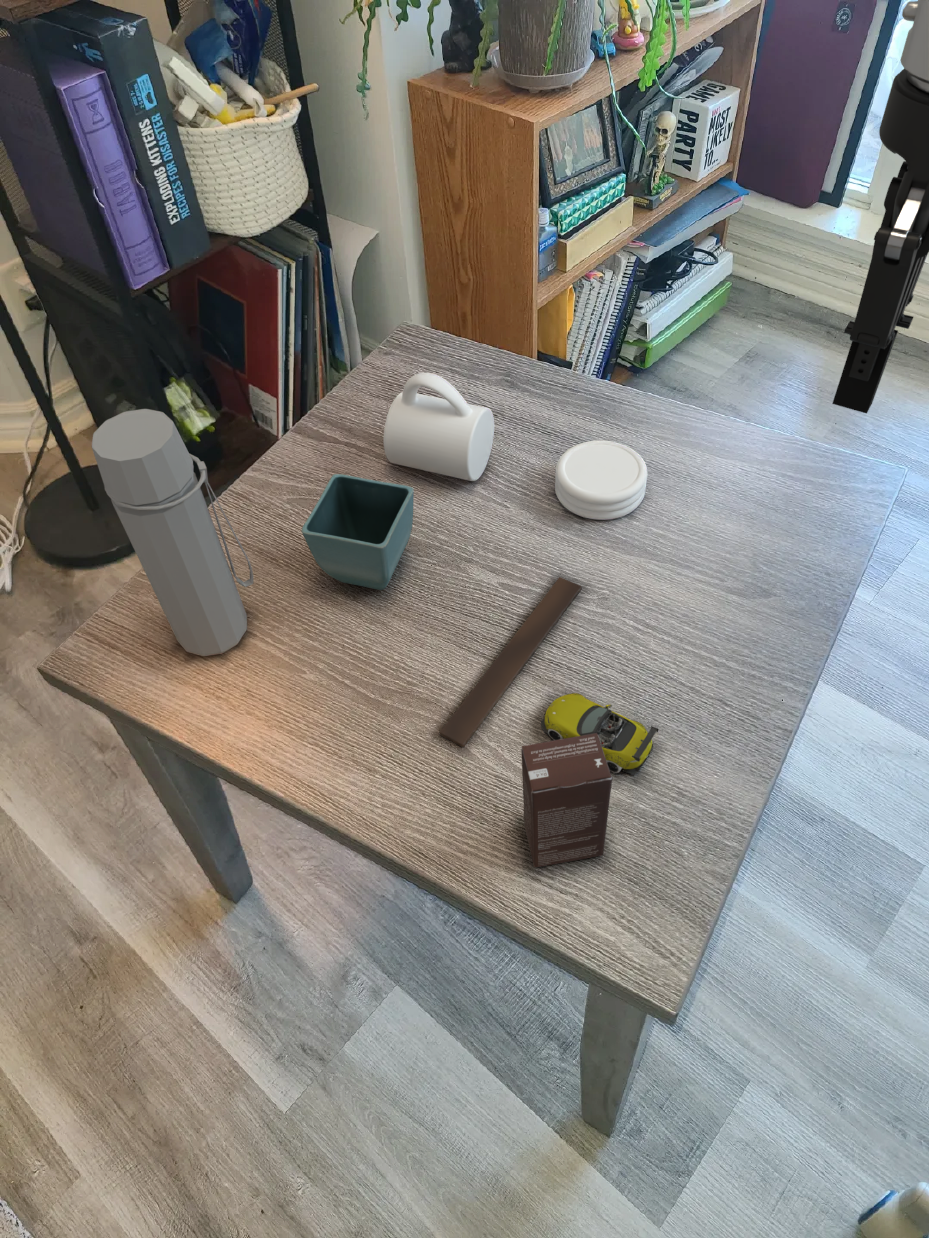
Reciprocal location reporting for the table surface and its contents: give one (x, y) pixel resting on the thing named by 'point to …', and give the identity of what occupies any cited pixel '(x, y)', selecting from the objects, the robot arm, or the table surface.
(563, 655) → the table surface
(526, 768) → the box
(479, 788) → the table surface
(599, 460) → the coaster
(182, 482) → the water bottle
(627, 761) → the sports car
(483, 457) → the mug
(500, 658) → the ruler
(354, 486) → the flower pot
